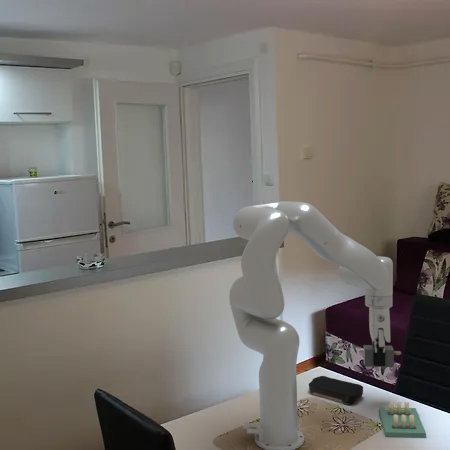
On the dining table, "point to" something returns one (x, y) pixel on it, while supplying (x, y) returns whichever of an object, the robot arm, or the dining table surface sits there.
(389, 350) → the plug housing
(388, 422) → the header board
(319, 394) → the black sponge
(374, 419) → the dining table surface
